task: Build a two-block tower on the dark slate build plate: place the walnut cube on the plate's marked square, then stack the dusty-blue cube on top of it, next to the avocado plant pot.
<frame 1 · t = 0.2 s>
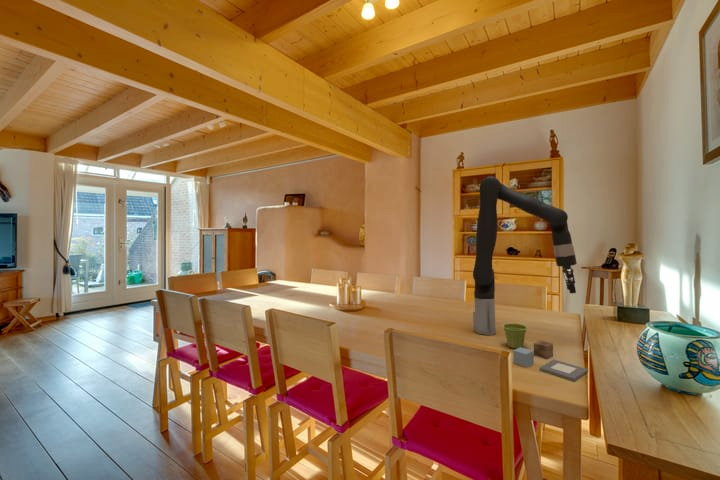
hand: (571, 291, 139), 22 cm above the table, tool pointing down, fingers open, 8 cm apart
plant pot: (515, 347, 137), on the table
walnut block: (543, 355, 126), on the table
blue block: (523, 363, 120), on the table
build plate: (563, 371, 112), on the table
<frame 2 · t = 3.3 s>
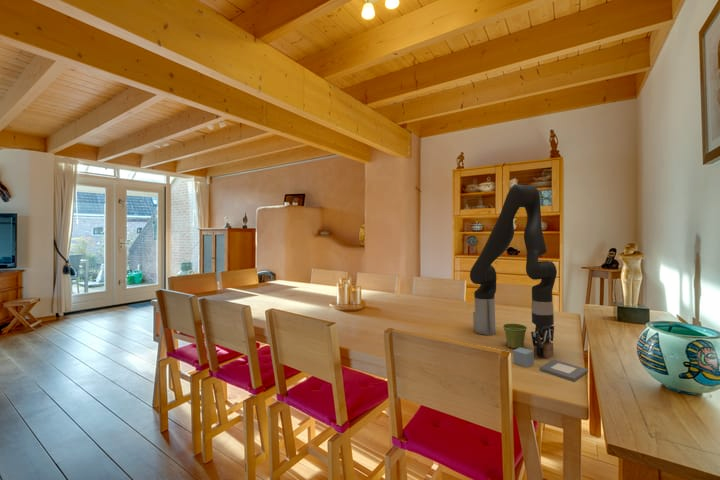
hand: (543, 354, 126), 0 cm above the table, tool pointing down, fingers closed on walnut block, 5 cm apart
walnut block: (543, 355, 126), on the table, touching gripper
everything else where it was.
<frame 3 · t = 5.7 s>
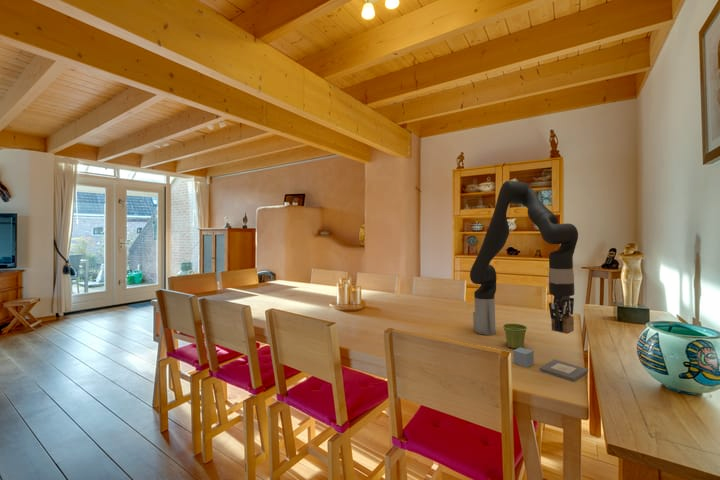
hand: (562, 329, 112), 15 cm above the table, tool pointing down, fingers closed on walnut block, 5 cm apart
walnut block: (562, 330, 112), point 14 cm above the table, touching gripper
everything else where it was.
when the fingers open (2 cm above the table, at t = 8.3 s): walnut block stays where it is, resting on build plate.
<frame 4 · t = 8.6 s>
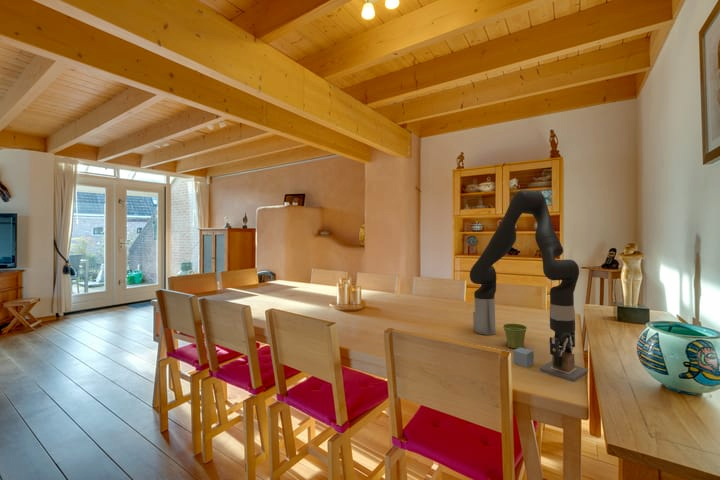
hand: (563, 363, 112), 3 cm above the table, tool pointing down, fingers open, 7 cm apart
walnut block: (563, 368, 112), point 1 cm above the table, touching build plate
everything else where it was.
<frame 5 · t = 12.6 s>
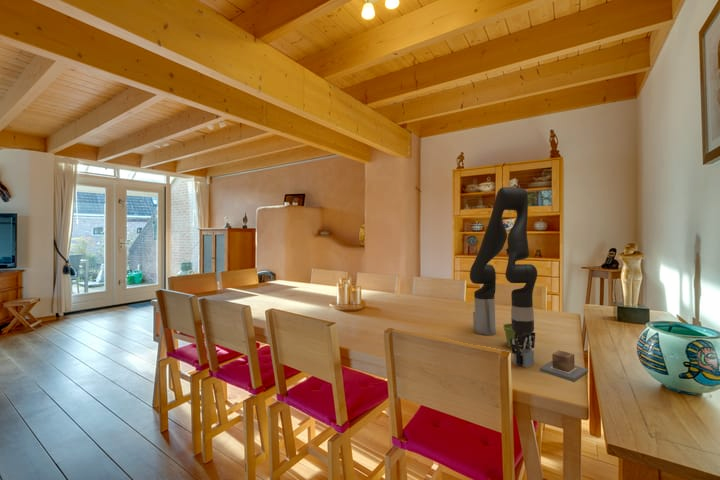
hand: (523, 362, 120), 0 cm above the table, tool pointing down, fingers closed on blue block, 5 cm apart
blue block: (523, 363, 120), on the table, touching gripper
everything else where it was.
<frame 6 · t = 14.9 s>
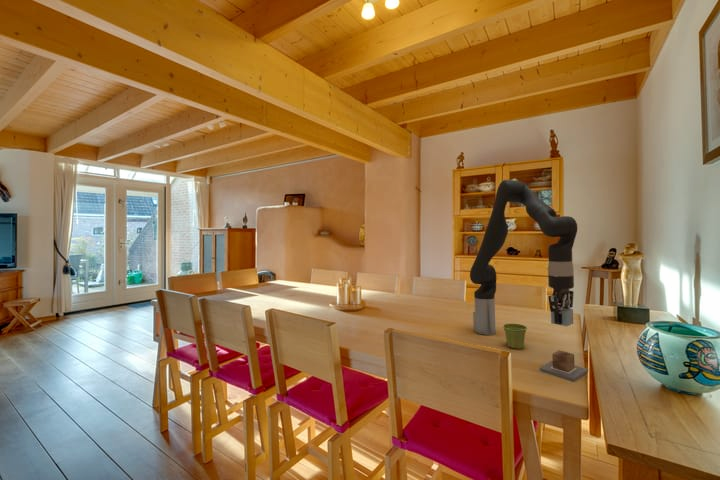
hand: (562, 322, 112), 17 cm above the table, tool pointing down, fingers closed on blue block, 5 cm apart
blue block: (562, 323, 112), point 17 cm above the table, touching gripper
everything else where it was.
when the fingers open (8 cm above the table, at t = 17.6 s): blue block stays where it is, resting on walnut block.
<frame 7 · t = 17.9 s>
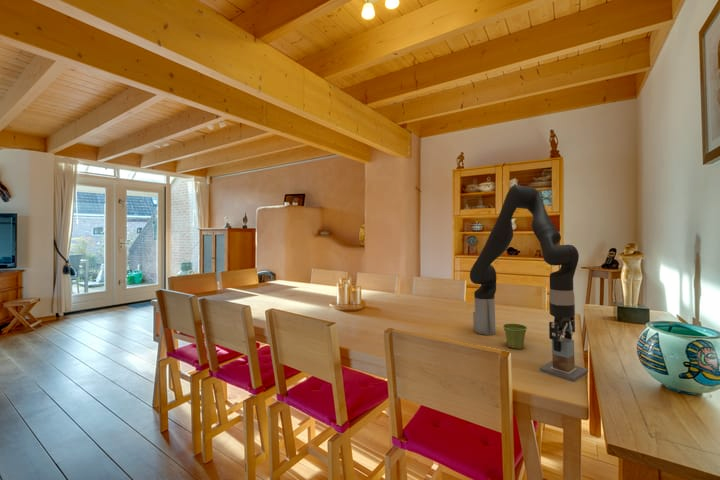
hand: (562, 348, 112), 8 cm above the table, tool pointing down, fingers open, 8 cm apart
walnut block: (563, 368, 112), point 1 cm above the table, touching blue block, build plate
blue block: (563, 354, 112), point 6 cm above the table, touching walnut block
everything else where it was.
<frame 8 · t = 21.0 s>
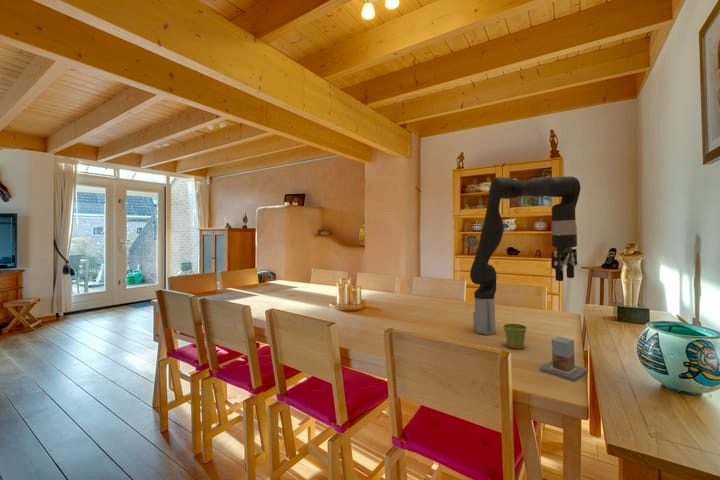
hand: (565, 279, 113), 32 cm above the table, tool pointing down, fingers open, 8 cm apart
nothing on the table moved.
at the end: walnut block inside the target area on the build plate (0.1 cm from its centre), point 1.1 cm above the build plate's base; blue block 0.1 cm off-centre on the walnut block, point 5.0 cm above the walnut block's base; blue block tilted 0° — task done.
